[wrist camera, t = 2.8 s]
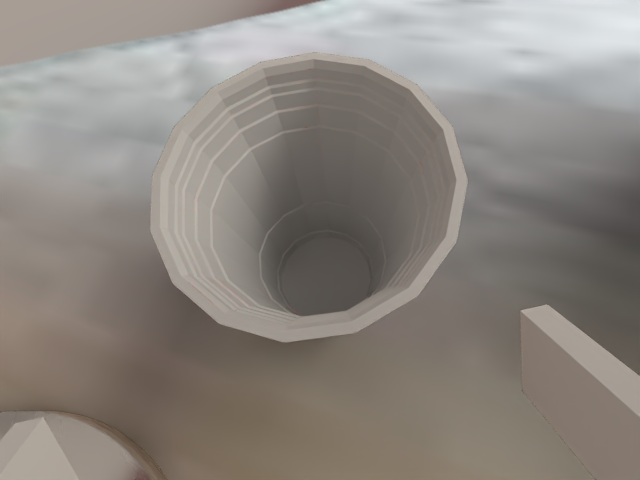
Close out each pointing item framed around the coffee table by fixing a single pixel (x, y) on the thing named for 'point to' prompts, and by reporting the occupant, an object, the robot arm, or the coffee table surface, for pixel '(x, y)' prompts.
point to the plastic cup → (307, 197)
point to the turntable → (91, 446)
